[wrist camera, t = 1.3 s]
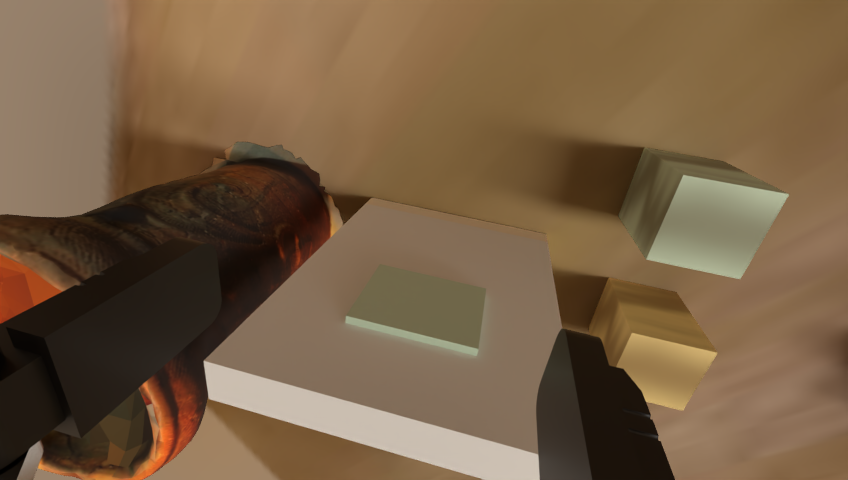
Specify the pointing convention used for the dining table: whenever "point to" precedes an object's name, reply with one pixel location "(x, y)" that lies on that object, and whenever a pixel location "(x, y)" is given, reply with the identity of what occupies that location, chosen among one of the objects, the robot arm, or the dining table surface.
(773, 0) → the dining table surface
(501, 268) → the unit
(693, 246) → the sage block
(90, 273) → the vessel
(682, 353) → the mustard block
